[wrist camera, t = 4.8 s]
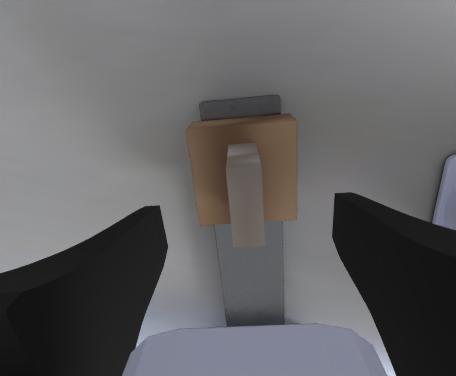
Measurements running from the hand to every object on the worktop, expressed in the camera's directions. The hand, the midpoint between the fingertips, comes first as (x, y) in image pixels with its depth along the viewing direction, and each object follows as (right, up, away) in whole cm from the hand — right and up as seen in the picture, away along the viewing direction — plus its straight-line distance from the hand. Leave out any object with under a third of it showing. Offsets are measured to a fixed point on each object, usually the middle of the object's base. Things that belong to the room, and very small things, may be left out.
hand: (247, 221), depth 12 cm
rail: (+1, -2, +11) cm, 11 cm away
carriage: (0, +3, +7) cm, 8 cm away
